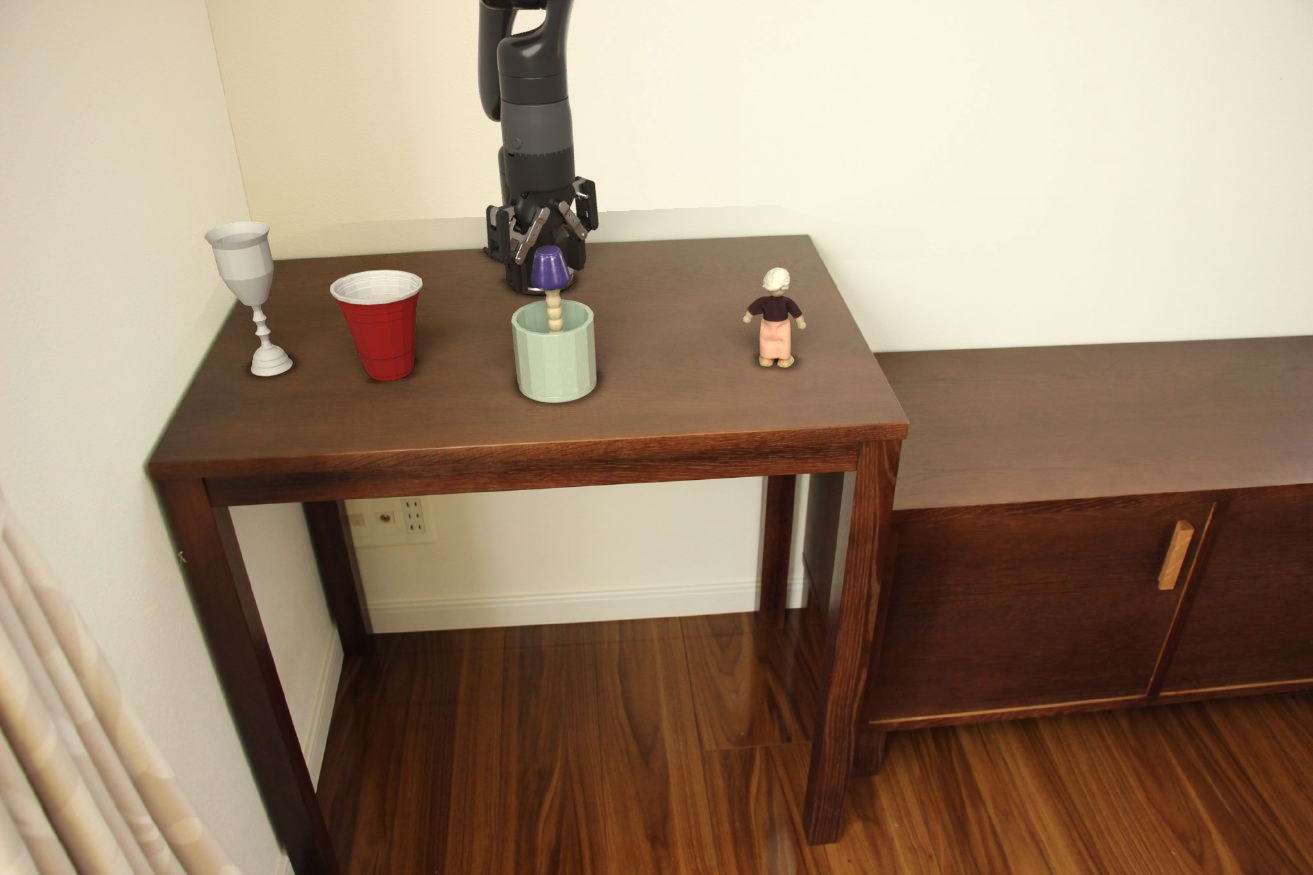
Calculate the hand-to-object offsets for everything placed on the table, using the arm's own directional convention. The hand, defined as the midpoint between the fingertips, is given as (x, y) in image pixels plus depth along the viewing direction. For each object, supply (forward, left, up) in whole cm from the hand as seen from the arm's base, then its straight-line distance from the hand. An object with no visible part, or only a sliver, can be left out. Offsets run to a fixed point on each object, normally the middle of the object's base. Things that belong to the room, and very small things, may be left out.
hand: (548, 280), depth 114 cm
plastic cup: (-18, -12, -14) cm, 26 cm away
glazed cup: (0, 0, -14) cm, 14 cm away
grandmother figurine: (+16, +22, -14) cm, 31 cm away
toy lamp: (0, 0, -13) cm, 13 cm away
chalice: (-30, -22, -14) cm, 40 cm away
